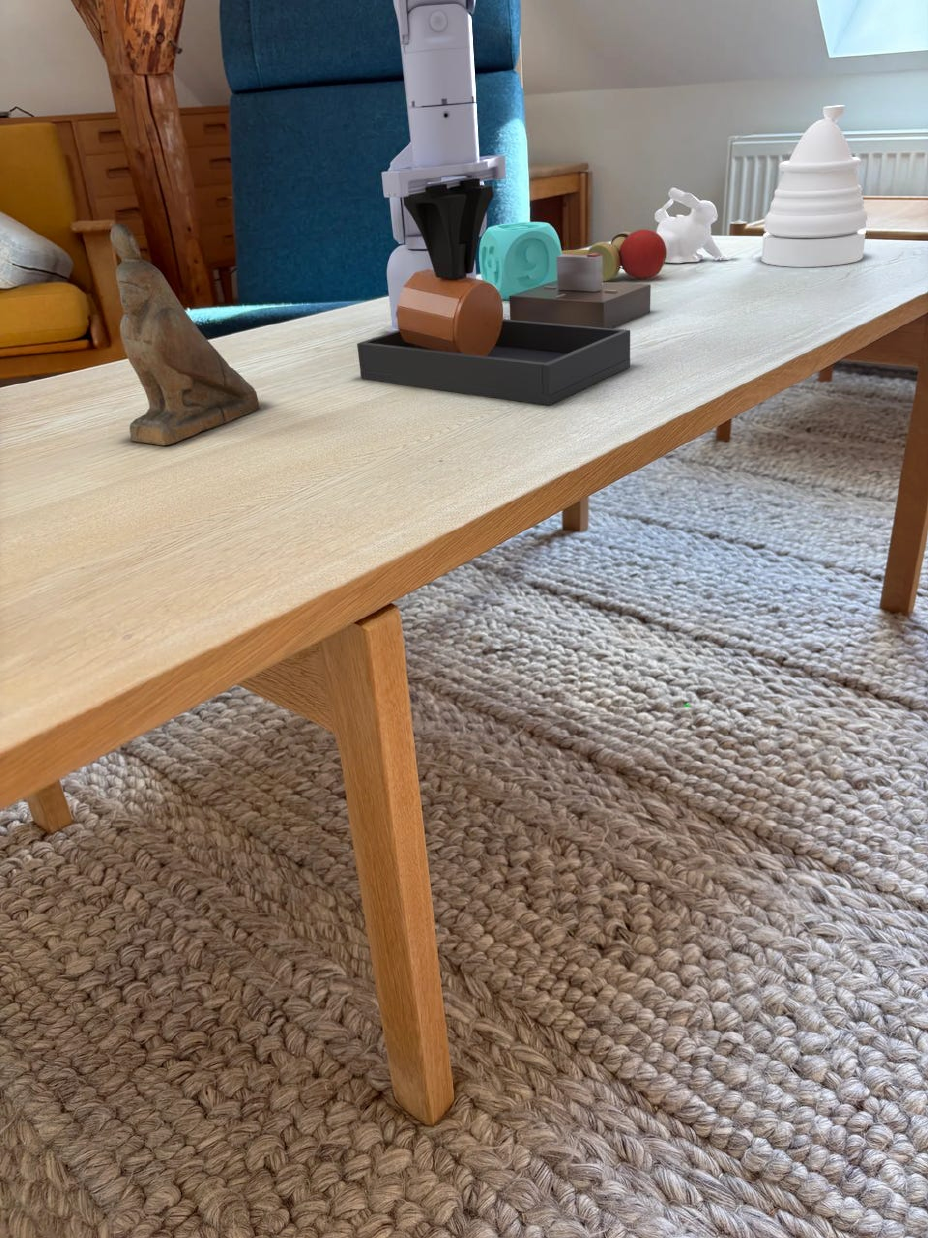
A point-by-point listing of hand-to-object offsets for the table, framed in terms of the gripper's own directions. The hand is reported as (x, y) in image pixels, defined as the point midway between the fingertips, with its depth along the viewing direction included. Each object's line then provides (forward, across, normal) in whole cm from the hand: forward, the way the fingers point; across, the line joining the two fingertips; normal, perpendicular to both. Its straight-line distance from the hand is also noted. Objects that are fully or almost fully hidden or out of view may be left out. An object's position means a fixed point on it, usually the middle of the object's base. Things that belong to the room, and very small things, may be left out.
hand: (454, 275), depth 88 cm
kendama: (+9, +46, +12) cm, 48 cm away
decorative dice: (+9, +33, +16) cm, 38 cm away
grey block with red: (+5, +23, +1) cm, 24 cm away
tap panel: (+8, +23, +1) cm, 25 cm away
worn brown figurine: (+9, -23, +10) cm, 27 cm away
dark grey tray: (+8, 0, -4) cm, 9 cm away
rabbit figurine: (+9, +59, +7) cm, 60 cm away
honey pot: (+9, +65, -9) cm, 66 cm away
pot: (+3, 0, -3) cm, 4 cm away
